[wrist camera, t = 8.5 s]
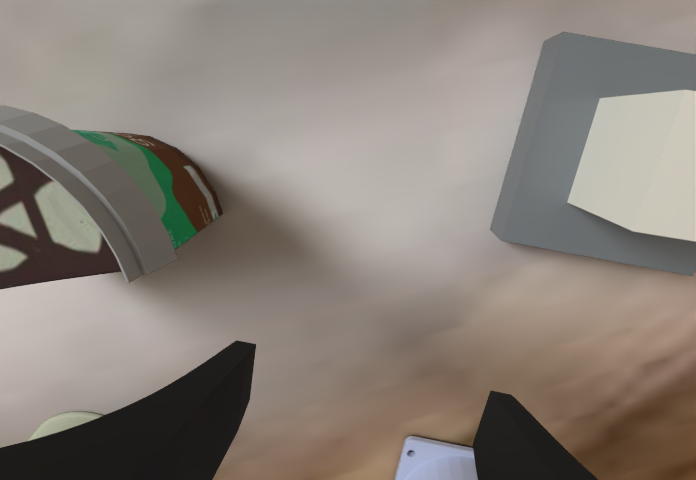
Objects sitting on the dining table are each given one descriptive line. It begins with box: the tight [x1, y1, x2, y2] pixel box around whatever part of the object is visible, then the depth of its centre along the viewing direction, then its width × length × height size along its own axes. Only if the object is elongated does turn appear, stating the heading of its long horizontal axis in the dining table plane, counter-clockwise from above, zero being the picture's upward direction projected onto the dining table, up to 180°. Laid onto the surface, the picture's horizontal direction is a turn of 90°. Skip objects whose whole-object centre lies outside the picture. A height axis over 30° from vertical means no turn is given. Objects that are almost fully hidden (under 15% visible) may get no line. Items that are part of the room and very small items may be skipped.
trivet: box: [490, 32, 696, 276], centre depth 18 cm, size 9×9×2 cm
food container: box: [0, 105, 223, 289], centre depth 17 cm, size 12×6×10 cm, turn 99°
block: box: [567, 90, 696, 241], centre depth 15 cm, size 4×4×5 cm
